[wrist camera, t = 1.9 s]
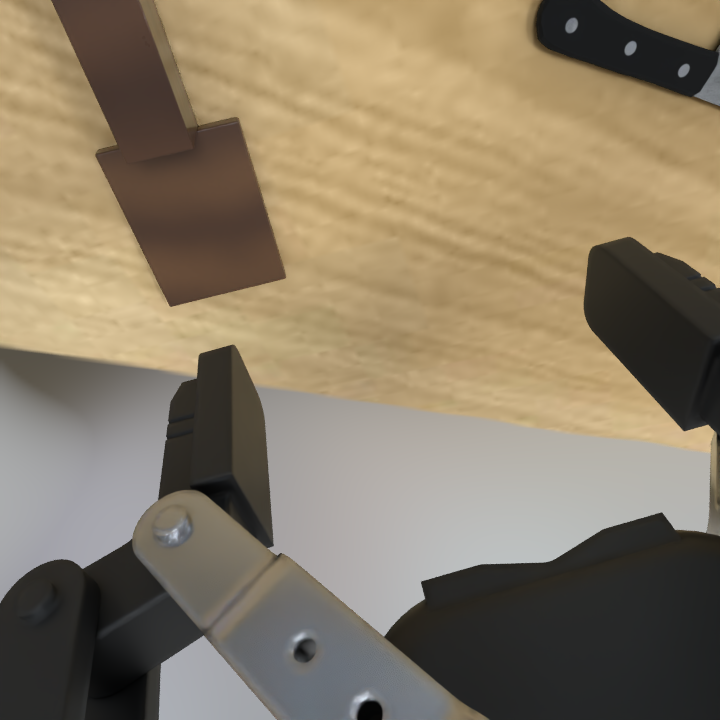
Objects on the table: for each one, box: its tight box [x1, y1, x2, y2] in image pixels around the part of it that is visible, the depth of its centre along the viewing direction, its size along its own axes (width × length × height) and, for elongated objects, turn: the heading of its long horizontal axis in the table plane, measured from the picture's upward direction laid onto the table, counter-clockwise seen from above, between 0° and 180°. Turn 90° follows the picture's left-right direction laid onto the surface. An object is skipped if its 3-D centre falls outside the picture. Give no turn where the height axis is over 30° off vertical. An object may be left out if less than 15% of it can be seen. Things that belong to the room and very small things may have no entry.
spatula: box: [51, 0, 286, 307], centre depth 22 cm, size 24×7×4 cm, turn 10°
